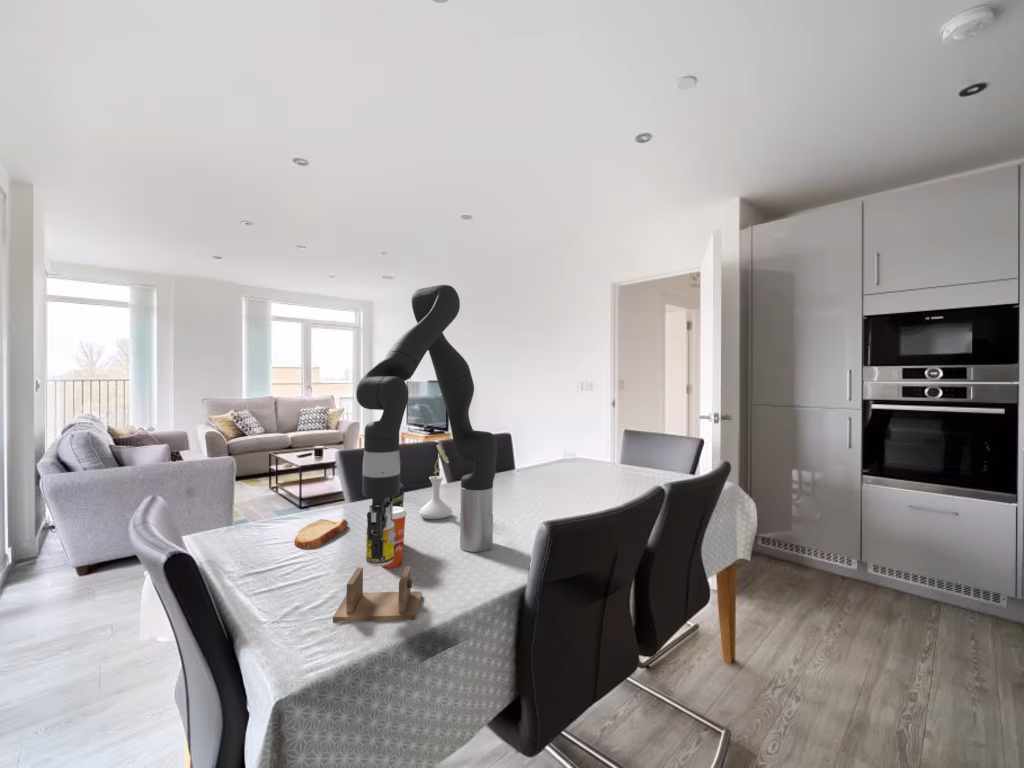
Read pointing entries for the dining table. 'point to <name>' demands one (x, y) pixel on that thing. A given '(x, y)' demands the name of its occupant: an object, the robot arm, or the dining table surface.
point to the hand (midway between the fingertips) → (380, 552)
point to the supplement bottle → (387, 545)
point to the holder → (378, 601)
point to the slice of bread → (319, 533)
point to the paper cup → (398, 535)
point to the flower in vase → (436, 496)
